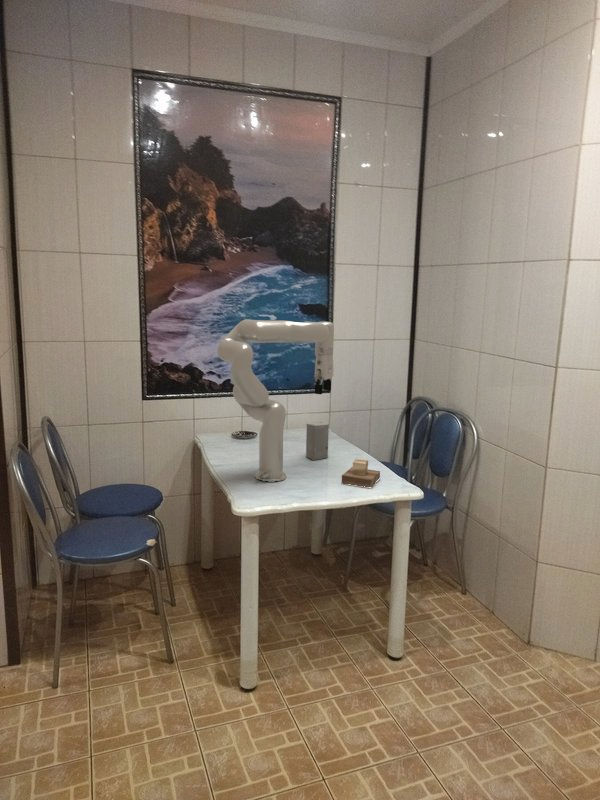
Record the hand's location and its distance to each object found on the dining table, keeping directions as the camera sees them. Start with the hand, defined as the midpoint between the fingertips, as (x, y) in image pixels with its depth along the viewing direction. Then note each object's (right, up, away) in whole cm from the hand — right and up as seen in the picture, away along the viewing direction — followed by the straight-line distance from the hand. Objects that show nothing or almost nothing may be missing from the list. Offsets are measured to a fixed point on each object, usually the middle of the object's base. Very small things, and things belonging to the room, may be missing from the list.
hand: (322, 392), depth 249 cm
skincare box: (-2, -30, +18) cm, 35 cm away
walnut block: (+15, -37, -13) cm, 41 cm away
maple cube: (+14, -33, -14) cm, 38 cm away
